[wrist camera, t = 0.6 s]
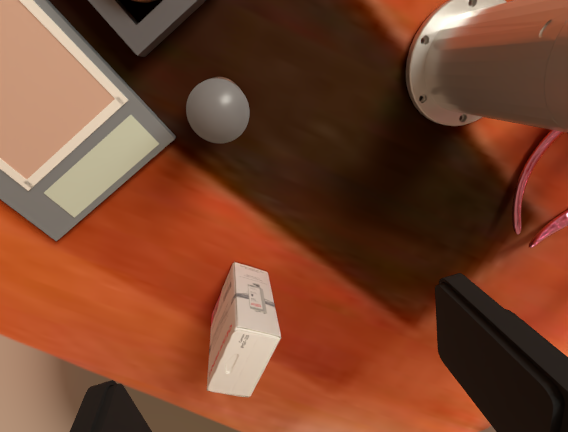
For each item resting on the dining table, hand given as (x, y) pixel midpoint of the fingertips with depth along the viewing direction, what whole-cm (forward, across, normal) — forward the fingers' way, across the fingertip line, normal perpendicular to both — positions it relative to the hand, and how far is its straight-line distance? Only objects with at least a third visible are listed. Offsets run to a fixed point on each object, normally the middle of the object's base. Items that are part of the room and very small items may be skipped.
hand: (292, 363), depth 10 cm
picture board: (+29, +17, -8) cm, 35 cm away
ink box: (+29, +5, +18) cm, 35 cm away
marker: (+29, 0, -6) cm, 30 cm away
